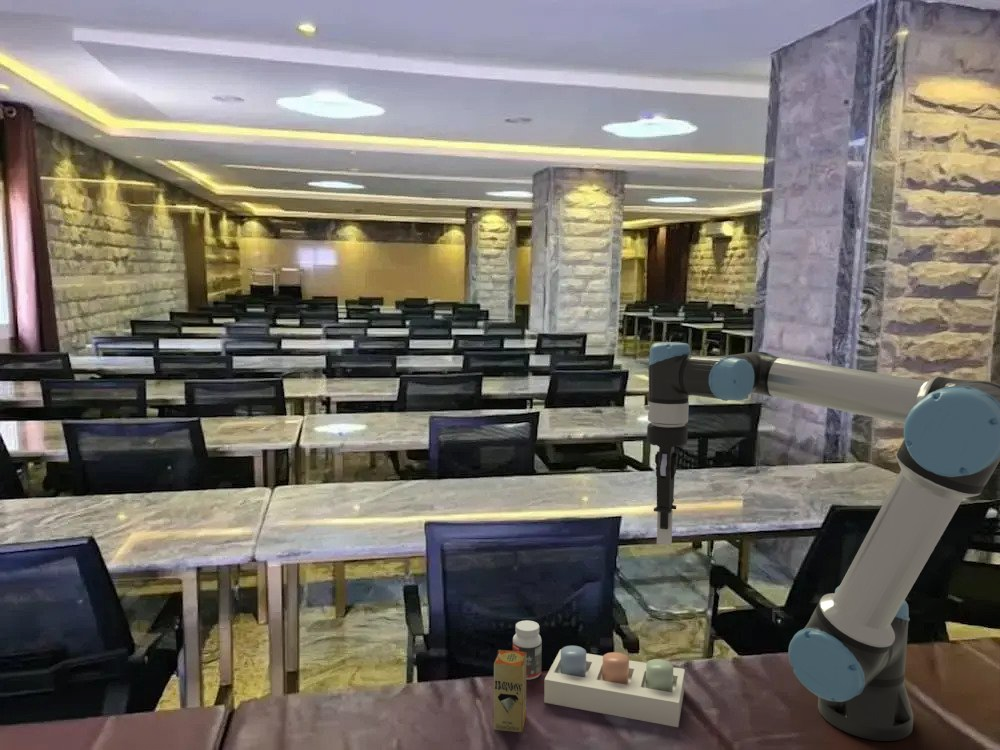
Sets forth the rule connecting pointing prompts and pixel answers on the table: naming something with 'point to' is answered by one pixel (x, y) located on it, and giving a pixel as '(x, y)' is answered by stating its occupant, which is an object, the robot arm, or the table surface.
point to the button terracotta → (615, 668)
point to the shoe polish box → (510, 691)
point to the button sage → (659, 675)
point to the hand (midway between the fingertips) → (664, 543)
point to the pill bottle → (529, 646)
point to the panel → (615, 692)
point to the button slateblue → (573, 661)
